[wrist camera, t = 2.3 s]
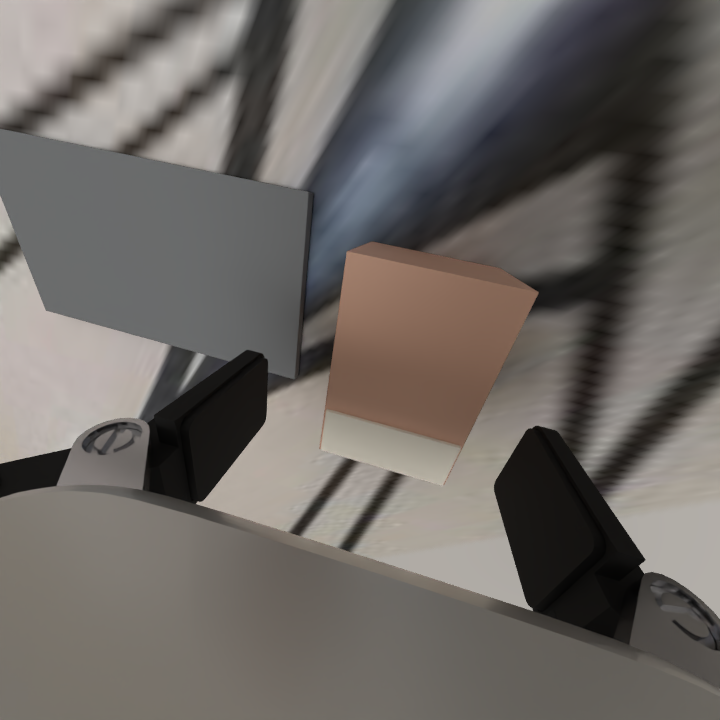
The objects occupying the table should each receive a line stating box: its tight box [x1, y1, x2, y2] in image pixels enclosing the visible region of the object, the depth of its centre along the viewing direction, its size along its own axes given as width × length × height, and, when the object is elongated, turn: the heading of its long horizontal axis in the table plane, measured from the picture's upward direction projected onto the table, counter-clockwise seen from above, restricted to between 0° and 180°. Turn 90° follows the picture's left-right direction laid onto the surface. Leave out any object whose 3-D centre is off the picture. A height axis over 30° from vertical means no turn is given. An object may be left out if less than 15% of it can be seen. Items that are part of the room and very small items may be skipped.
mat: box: [0, 129, 313, 379], centre depth 16 cm, size 18×10×1 cm, turn 80°
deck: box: [319, 242, 539, 486], centre depth 13 cm, size 6×9×5 cm, turn 170°
